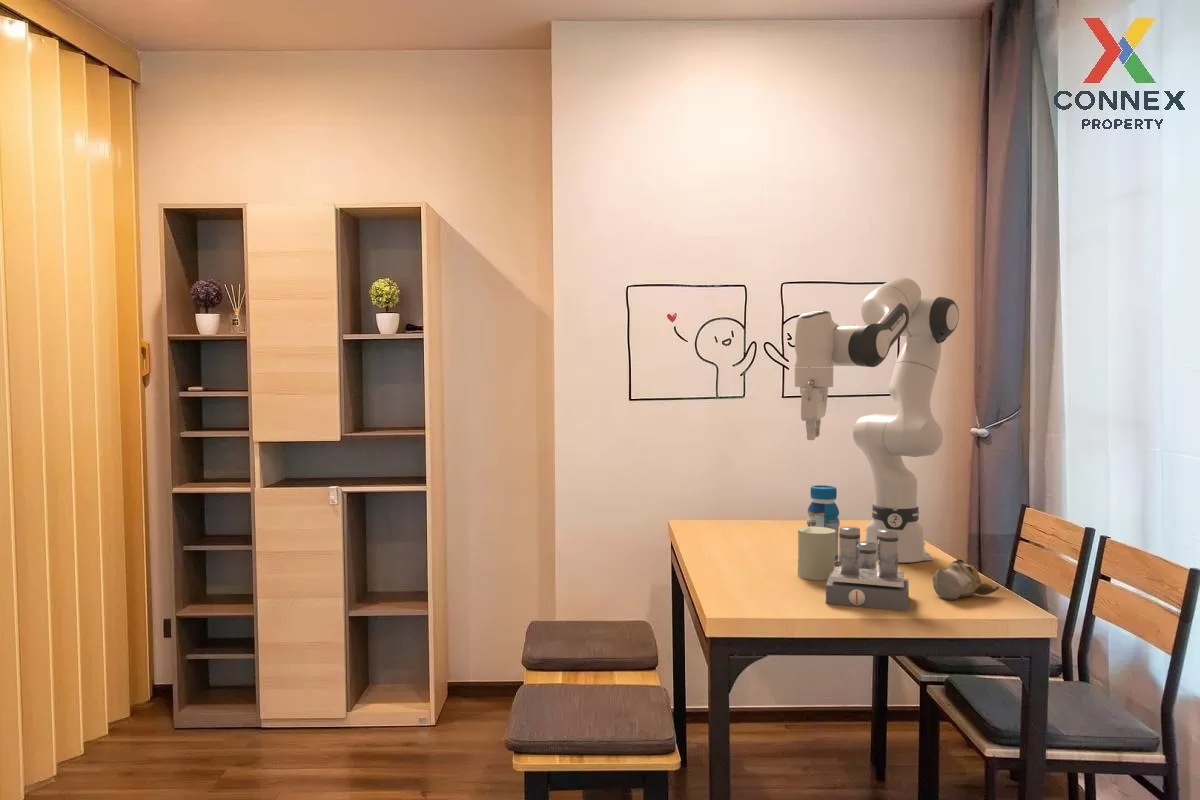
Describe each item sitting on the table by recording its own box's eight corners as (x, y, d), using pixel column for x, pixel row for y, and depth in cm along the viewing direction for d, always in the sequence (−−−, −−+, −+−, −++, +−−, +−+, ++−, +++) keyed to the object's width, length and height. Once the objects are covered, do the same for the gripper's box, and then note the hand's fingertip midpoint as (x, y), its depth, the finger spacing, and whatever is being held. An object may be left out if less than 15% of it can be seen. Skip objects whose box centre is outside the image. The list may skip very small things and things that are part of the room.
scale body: (830, 589, 192) (830, 572, 192) (908, 596, 186) (908, 579, 186) (825, 603, 180) (825, 585, 180) (908, 611, 174) (908, 593, 174)
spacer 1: (839, 569, 187) (839, 526, 187) (860, 571, 186) (860, 527, 186) (838, 574, 183) (838, 529, 183) (859, 575, 182) (859, 531, 181)
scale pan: (834, 570, 190) (834, 566, 190) (903, 576, 185) (904, 571, 185) (831, 581, 181) (831, 576, 181) (903, 587, 176) (903, 582, 176)
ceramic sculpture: (920, 556, 187) (962, 553, 195) (917, 594, 188) (959, 589, 195) (961, 566, 178) (1003, 562, 186) (958, 606, 178) (1001, 600, 186)
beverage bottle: (840, 565, 216) (841, 489, 215) (807, 563, 217) (808, 488, 217) (837, 558, 224) (838, 484, 223) (805, 556, 226) (806, 484, 225)
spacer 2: (857, 581, 199) (858, 540, 198) (876, 583, 197) (877, 542, 196) (854, 586, 195) (855, 544, 194) (874, 588, 193) (875, 546, 192)
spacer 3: (876, 572, 185) (877, 528, 184) (898, 574, 183) (898, 529, 183) (875, 577, 180) (876, 532, 180) (897, 579, 179) (898, 533, 178)
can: (789, 573, 207) (790, 525, 207) (820, 570, 211) (821, 523, 210) (811, 582, 199) (812, 532, 198) (843, 578, 202) (843, 530, 202)
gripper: (823, 380, 183) (822, 442, 183) (831, 379, 202) (830, 435, 202) (794, 380, 185) (794, 441, 185) (805, 379, 204) (804, 434, 205)
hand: (813, 438), depth 194 cm, fingers open, 8 cm apart
